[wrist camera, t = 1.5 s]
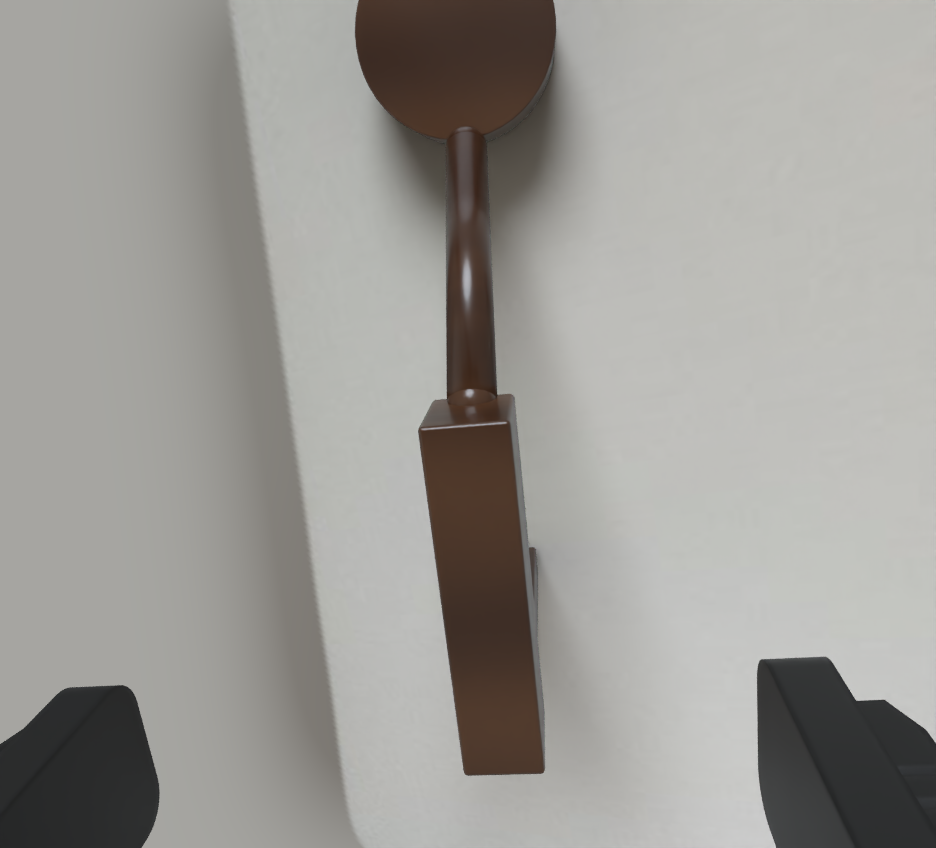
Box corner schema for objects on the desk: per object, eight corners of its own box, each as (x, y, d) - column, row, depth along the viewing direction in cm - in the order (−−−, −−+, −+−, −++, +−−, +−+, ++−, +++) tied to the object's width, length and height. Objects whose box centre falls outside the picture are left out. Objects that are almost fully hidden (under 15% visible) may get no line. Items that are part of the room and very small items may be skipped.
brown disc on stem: (360, -41, 23) (227, -215, 13) (546, -70, 22) (551, -274, 13) (442, 580, 29) (391, 779, 19) (592, 572, 28) (620, 773, 18)
